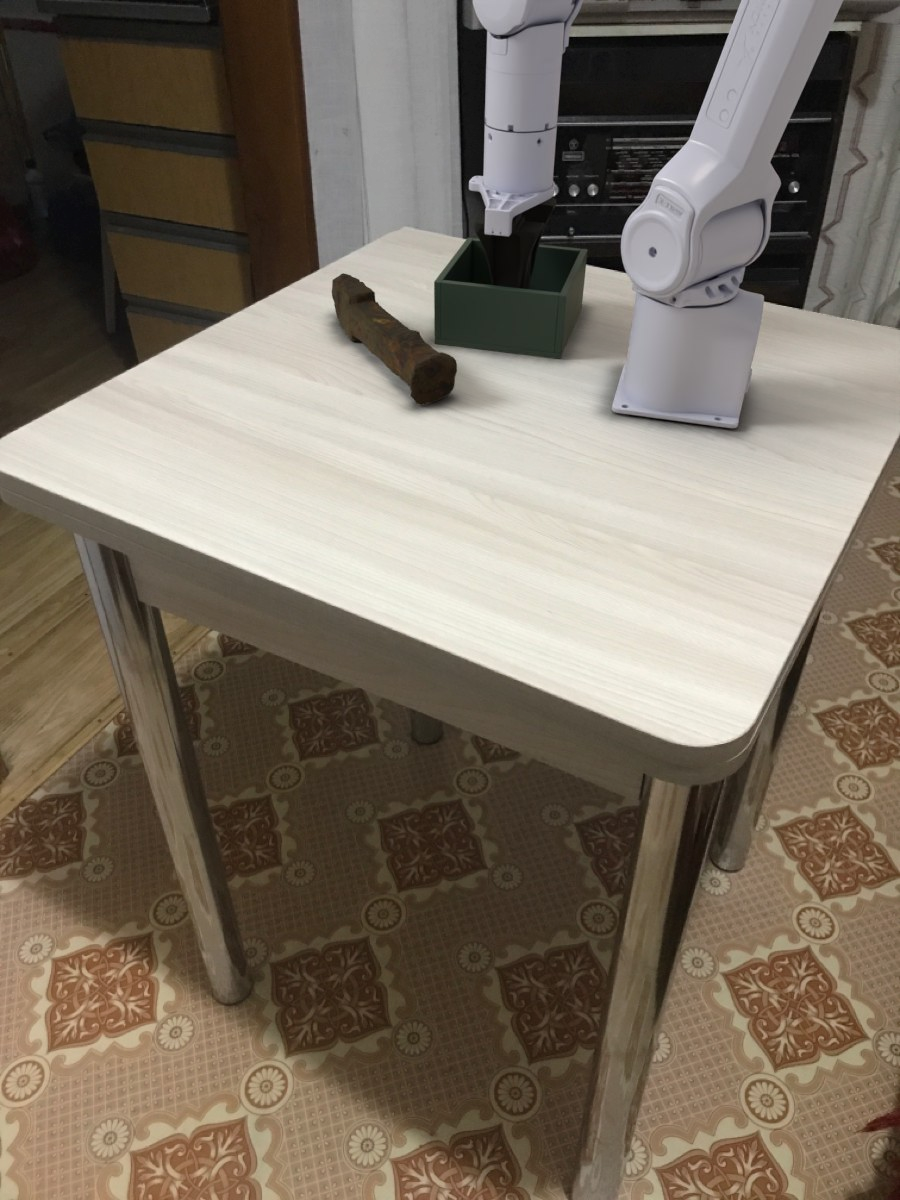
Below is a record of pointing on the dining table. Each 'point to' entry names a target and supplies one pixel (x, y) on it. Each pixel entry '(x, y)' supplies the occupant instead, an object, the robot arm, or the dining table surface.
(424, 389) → the hand tool
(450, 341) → the green storage bin
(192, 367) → the dining table surface
